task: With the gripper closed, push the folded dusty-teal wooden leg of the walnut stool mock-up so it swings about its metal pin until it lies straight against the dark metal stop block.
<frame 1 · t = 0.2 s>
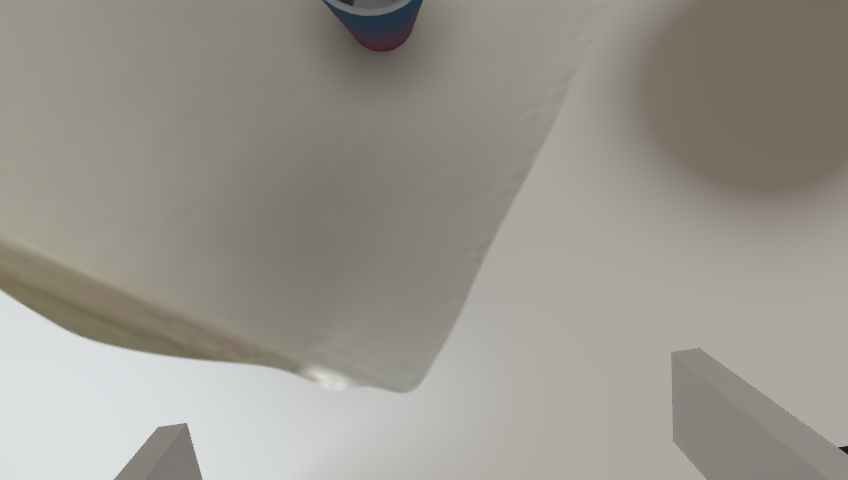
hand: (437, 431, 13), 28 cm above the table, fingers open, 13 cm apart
cup: (381, 17, 36), on the table
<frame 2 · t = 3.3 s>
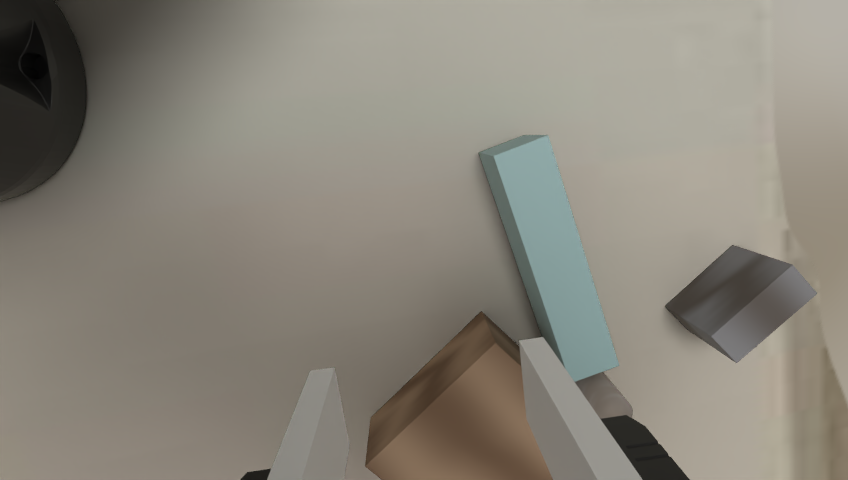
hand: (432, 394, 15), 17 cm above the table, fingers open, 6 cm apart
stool: (571, 356, 33), on the table
leg: (546, 255, 28), point 3 cm above the table, hinge at 65.0°
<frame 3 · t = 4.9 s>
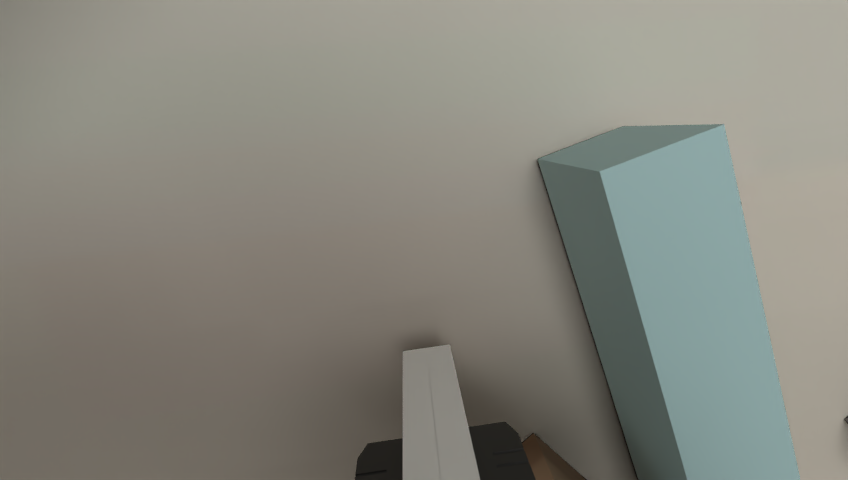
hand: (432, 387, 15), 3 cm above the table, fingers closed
leg: (671, 356, 15), point 3 cm above the table, hinge at 65.0°
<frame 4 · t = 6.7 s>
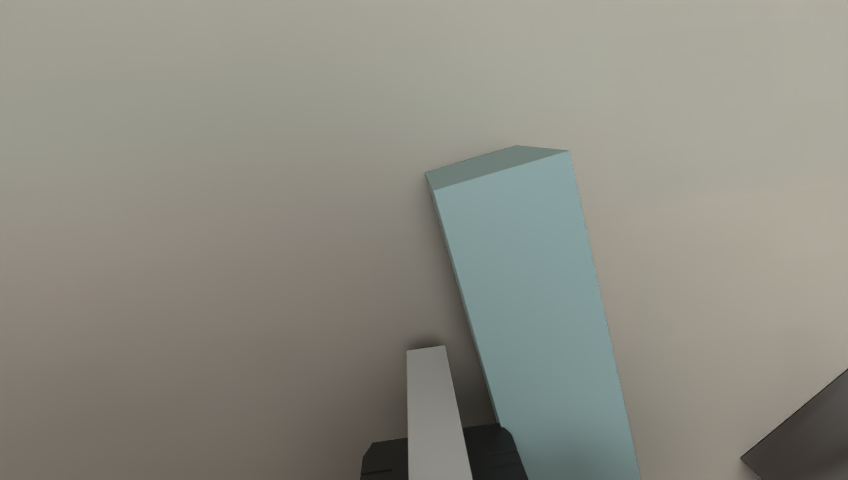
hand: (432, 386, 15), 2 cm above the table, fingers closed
leg: (542, 392, 14), point 3 cm above the table, hinge at 60.0°, touching gripper
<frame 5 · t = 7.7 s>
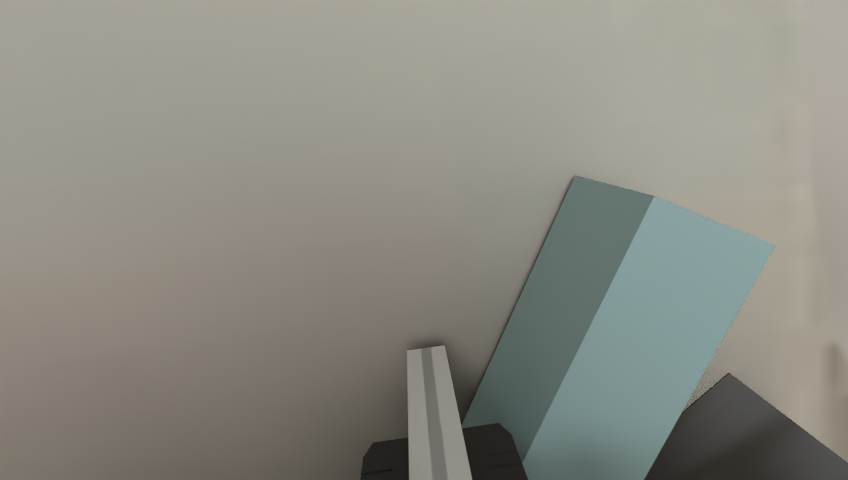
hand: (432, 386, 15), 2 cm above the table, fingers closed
leg: (548, 422, 14), point 3 cm above the table, hinge at 22.4°, touching gripper
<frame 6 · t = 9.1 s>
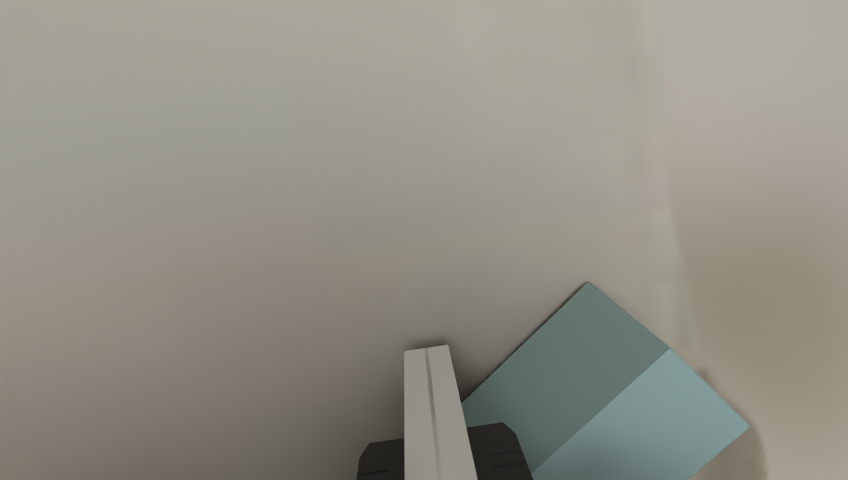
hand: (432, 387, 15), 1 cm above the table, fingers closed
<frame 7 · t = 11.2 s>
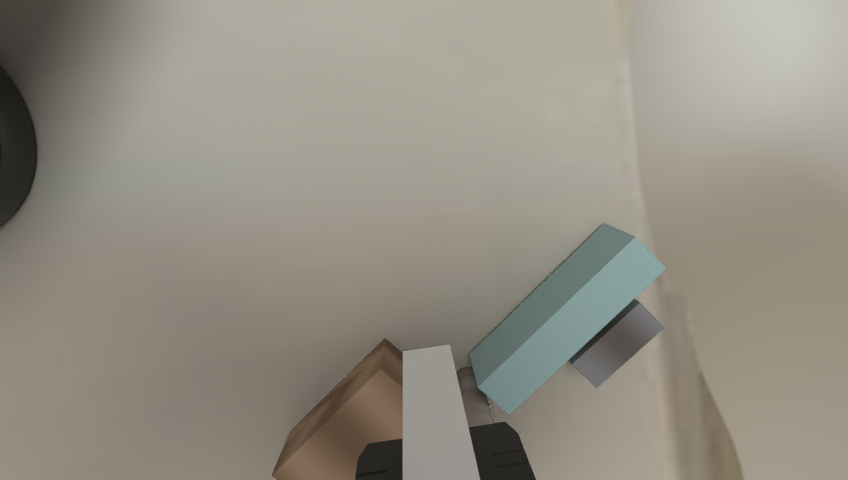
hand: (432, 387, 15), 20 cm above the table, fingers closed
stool: (467, 378, 37), on the table
leg: (558, 315, 33), point 3 cm above the table, hinge at 0.7°
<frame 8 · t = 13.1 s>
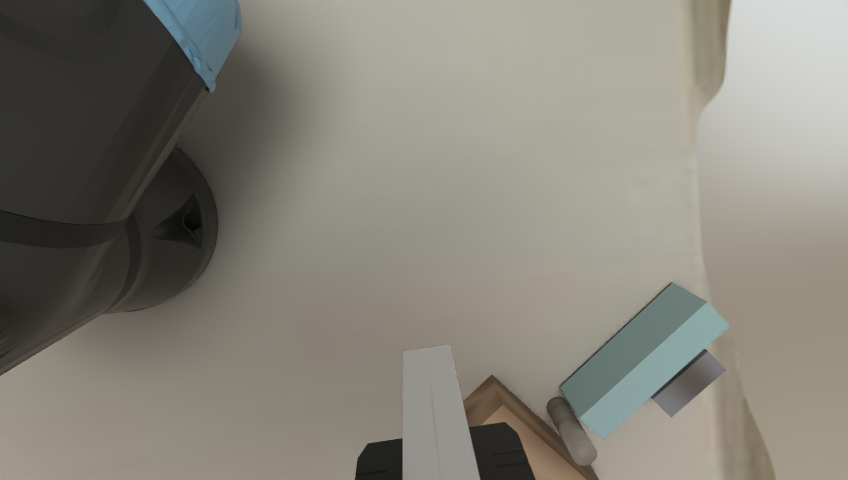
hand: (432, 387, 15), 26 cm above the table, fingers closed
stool: (557, 406, 45), on the table
leg: (638, 358, 41), point 3 cm above the table, hinge at 0.7°
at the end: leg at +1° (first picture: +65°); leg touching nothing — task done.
